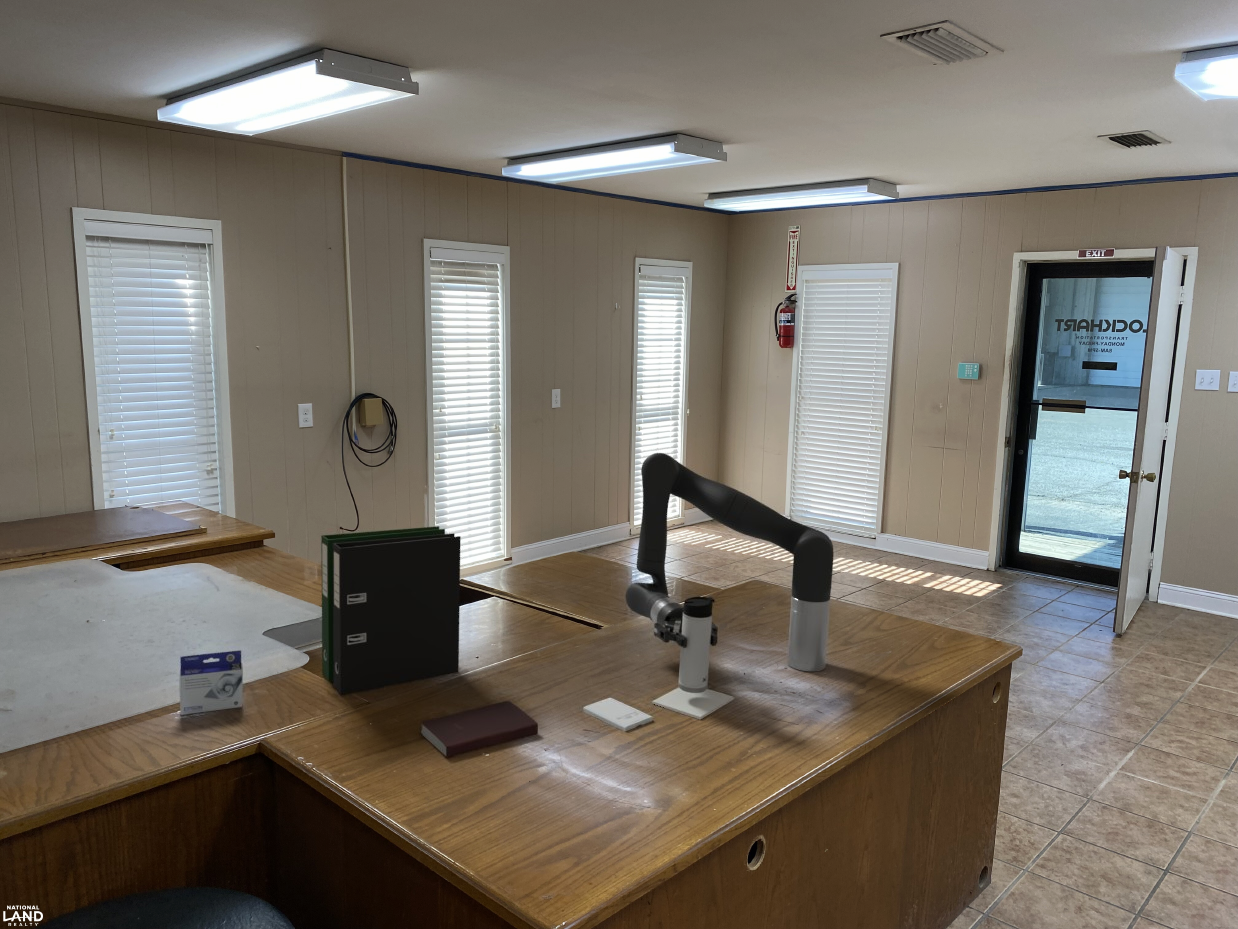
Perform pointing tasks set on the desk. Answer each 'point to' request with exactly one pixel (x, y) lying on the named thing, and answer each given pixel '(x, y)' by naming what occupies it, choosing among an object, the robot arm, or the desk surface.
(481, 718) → the book
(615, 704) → the external hard drive
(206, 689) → the ink box
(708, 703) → the white square pad
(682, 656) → the travel mug
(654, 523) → the robot arm
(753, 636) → the desk surface
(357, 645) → the ring binders
